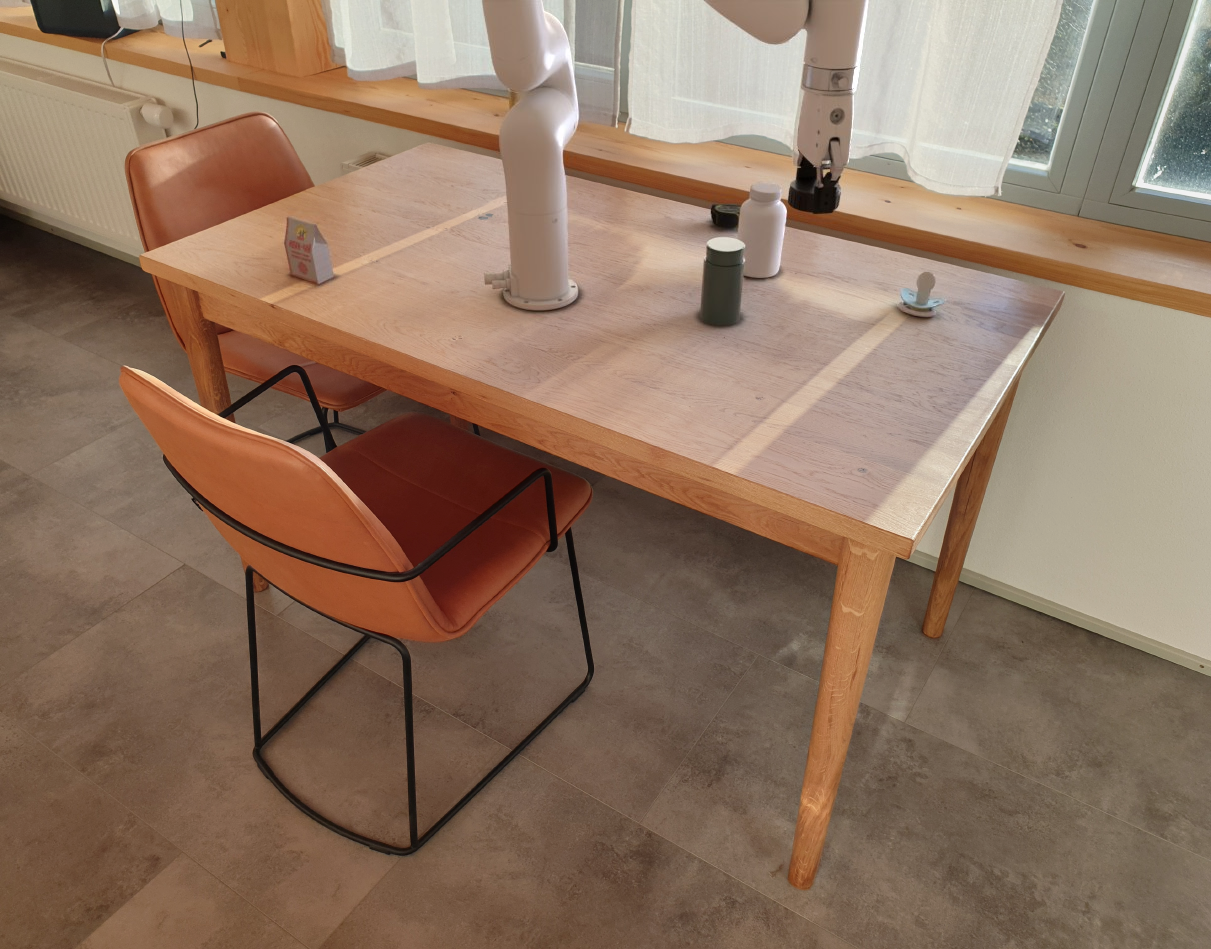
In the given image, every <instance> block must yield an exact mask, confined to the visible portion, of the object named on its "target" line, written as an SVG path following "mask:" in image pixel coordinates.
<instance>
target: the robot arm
mask: <svg viewBox="0 0 1211 949" xmlns="http://www.w3.org/2000/svg"><path fill="white" fill-rule="evenodd" d="M703 1H704V2H705V3H706V4H707V5H708V6H710V8H712V9H713V10H714V11H716V13H718V14H719V15H721V16H722V17H724V18H725V19H727V20H728V21H729V22H731V23H732V24H733V25H735V26H737V28H738V27H739V28H740V29H741V30H742V31H744V32H746V34H748V35H750V36H751V37H753V38H754V39H756V40H757V41H760V42H762V43H765V44H768V45H773V46H775V45H783V44H785V43H788V42H790V41H792V40H793V39H795V38H796V36H798V35H799V34H800V33H801V31H802V30H805V31H806V39H805V48H804V55H803V56H804V58H803V64H802V74H801V83H800V89H801V90H802V91H803V96H802V101H801V107H800V113H799V118H798V119H799V120H798V127H797V136H796V147H797V152H798V157H797V160H796V166H797V167H796V175H795V180H796V179H800V178H810V177H812V178H817V186H814V194H813V202H812V209H811V212H812V213H811V214H813V215H824V214H825V215H827V214H832V213H834V211H835V210H834V205H835V198H836V191H837V187H838V185H840V183H839V181H840V179H841V177H842V173H843V171H844V169H845V168H844V167H847V165H848V164H849V163H850V162H849V160H850V154H851V145H852V137H853V136H852V135H853V125H854V108H855V107H854V100H855V99H854V93H855V92H856V91H857V85H858V79H859V72H860V64H861V57H862V52H863V51H862V50H863V45H864V37H865V30H866V24H867V19H868V18H867V17H868V11H869V3H870V0H703ZM481 4H482V11H483V16H484V22H485V28H486V34H487V40H488V46H489V52H490V56H491V58H490V59H491V64H492V67H493V70H494V73H495V75H496V77H497V78H498V80H499V81H500V83H501V84H502V85H503V86H504V87H506V88H507V89H509V90H511V91H514V92H517V94H518V99H519V100H518V101H517V102H516V103H515V104H514V105H513V106H511V107H510V109H509V110H508V111H507V113H506V114H505V116H504V118H503V119H502V122H501V125H500V128H499V133H498V144H499V153H500V157H501V162H502V163H501V164H502V167H503V173H504V174H503V175H504V181H505V194H506V195H505V196H506V207H507V208H506V209H507V222H508V240H509V241H508V242H509V257H510V264H508V265H507V266H508V269H505V270H502V272H483V278H484V285H485V286H489V285H491V286H492V290H501V289H502V294H503V299H504V300H505V301H506V302H507V303H508V304H509V305H511V306H513V307H516V308H518V309H523V310H528V311H549V310H550V311H551V310H556V309H561V308H562V307H566V306H568V305H570V304H572V303H573V302H574V301H575V300H576V299H577V298H578V296H579V287H578V284H577V283H576V282H575V281H574V280H573V279H571V278H570V277H569V243H568V242H569V233H568V232H569V230H568V197H567V196H568V194H567V193H568V191H567V178H566V172H565V166H564V156H563V155H564V149H565V147H566V146H567V144H568V143H569V142H570V140H572V138H573V136H574V135H575V133H576V131H577V128H578V125H579V120H580V112H579V100H578V93H577V86H576V80H575V72H574V71H575V70H574V65H573V58H572V50H571V44H570V41H569V37H568V34H567V32H566V30H565V27H564V26H563V25H562V23H561V21H560V20H559V19H558V18H557V17H556V16H555V15H553V14H552V13H550V12H548V11H546V10H545V8H544V3H543V0H481ZM826 161H827V162H828V161H830V163H823V162H826ZM824 170H825V171H826V170H829V171H827V172H826V173H825V174H824Z"/></svg>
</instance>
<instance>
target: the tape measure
mask: <svg viewBox="0 0 1211 949" xmlns="http://www.w3.org/2000/svg"><path fill="white" fill-rule="evenodd" d="M741 206H742V204H738V203H737V204H735V203H713V204H711V207H710V217H711V221H712V224H713V225H714V226H716V227H717V228H721V229H726V230H735V229H738V227H739V217H740V209H741Z"/></svg>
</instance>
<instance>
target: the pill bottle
mask: <svg viewBox="0 0 1211 949" xmlns="http://www.w3.org/2000/svg"><path fill="white" fill-rule="evenodd" d="M782 193H783V188H782V186H781V185H779V184H777V183H774V182H767V181H760V182H754V183H752V184H751V185H750V187H749V196H748V197H749V198H748V199H746V200H744V201H743V203H742V204H741V205H742V206H741V209H740V217H739V227H738V228H737V237H736V239H738V240H740V241H742V242H743V243H744V244H745V249H744V256H743V257H744V258H745V266H744V276H745V277H748V278H755V279H765V278H771V277H774V276H775V275H777V274H778V272H779V270H780V266H781V259H782V251H783V245H784V244H783V243H784V237H785V230H786V222H787V215H788V211H787V206H786V205H785V204H784V203H783V201H781V199H782Z"/></svg>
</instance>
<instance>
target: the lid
mask: <svg viewBox="0 0 1211 949" xmlns="http://www.w3.org/2000/svg"><path fill="white" fill-rule="evenodd" d="M814 186H817V178H812V177H810V178H800V179H796V178H795V179H794V180H792V181H791V182H790V183H789V188H788V195H787V196H788V197H787V203H788V206H789V207H791V208H792V209H794V210H797V211H800V212H803V213H811V214H813V213H812V212H811V209H812V202H813V194H814ZM841 190H842V186H841V185H840V184H839V185H838V187H837V191H836V198H835V205H834V211H836V210H837V209H838V208H839V206H840V202H841V195H842V192H841Z"/></svg>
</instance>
